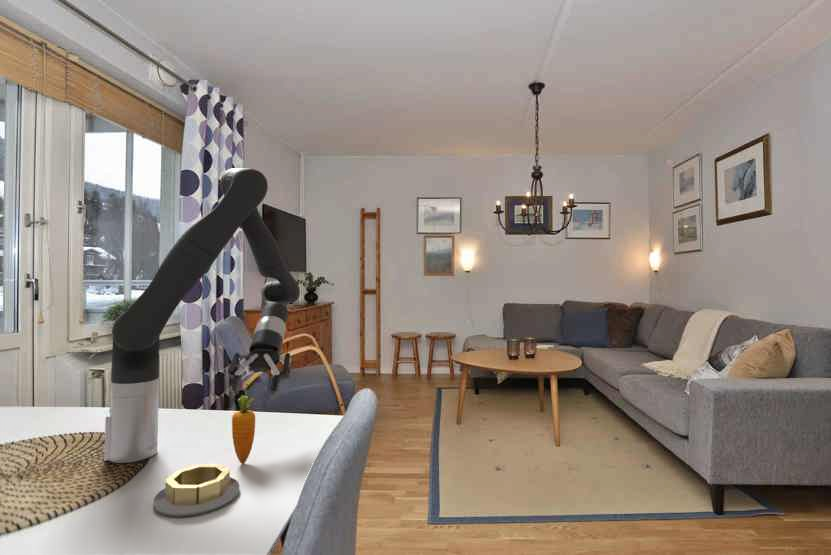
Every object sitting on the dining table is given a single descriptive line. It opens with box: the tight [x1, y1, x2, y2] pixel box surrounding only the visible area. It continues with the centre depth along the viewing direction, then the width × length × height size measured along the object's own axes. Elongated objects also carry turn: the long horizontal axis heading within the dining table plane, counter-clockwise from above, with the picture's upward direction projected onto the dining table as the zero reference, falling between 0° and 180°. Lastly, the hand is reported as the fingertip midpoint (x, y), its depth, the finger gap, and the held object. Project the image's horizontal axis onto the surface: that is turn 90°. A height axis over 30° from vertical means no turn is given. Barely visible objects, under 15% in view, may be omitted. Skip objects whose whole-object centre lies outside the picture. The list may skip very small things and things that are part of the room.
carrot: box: [231, 394, 256, 465], centre depth 95 cm, size 5×5×15 cm
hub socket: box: [153, 463, 240, 519], centre depth 80 cm, size 14×14×4 cm
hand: (253, 392), depth 102 cm, fingers open, 8 cm apart
